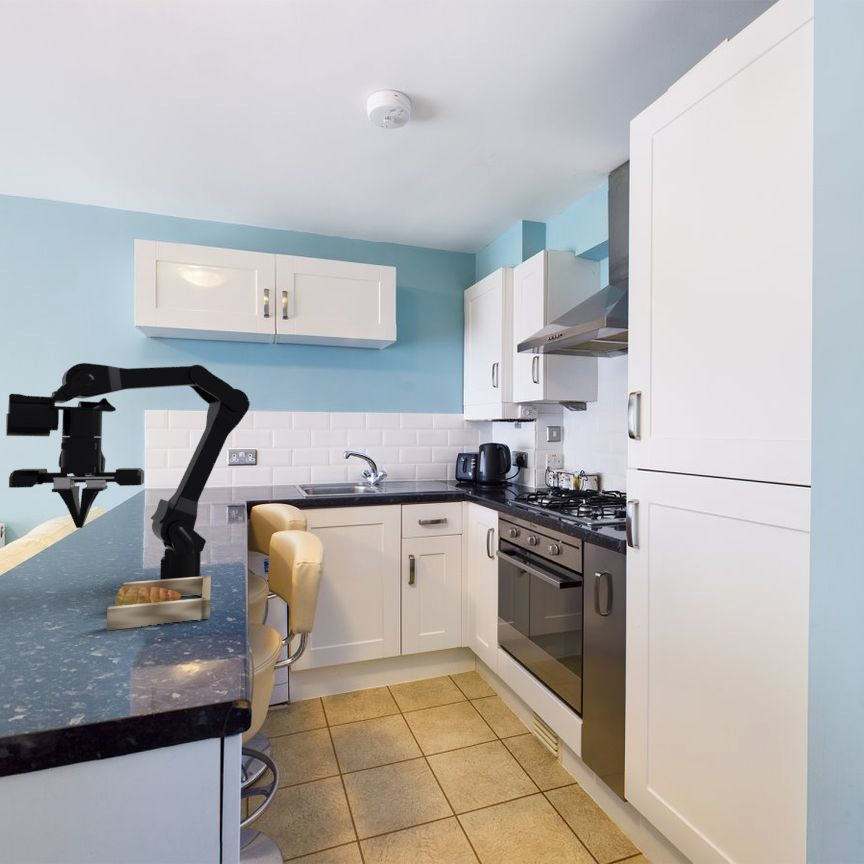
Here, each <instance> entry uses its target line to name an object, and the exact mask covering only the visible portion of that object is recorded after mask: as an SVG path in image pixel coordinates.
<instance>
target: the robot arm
mask: <svg viewBox="0 0 864 864" xmlns="http://www.w3.org/2000/svg"><path fill="white" fill-rule="evenodd" d="M61 384H62V385H61V386H60V387H59V388H58V389H57V390H54V391H52V392H51V396H38V395H37V396H36V395H25V394H21V393H10V394H9V395H8V407H7V408H8V409H7V413H6V417H5V420H6V423H5V425H6V426H5V431H6V432H5V433H6V434H5V436H6V437H50V435H51V432H53V431H58V429H59V425H60V424H59V422H60V421H59V419H60V416H59V414H60V411H62V426H61V427H62V428H61V429H62V431H61V442H60V443H61V444H60V450H61V451H60V454H59V457H58V467H59V469H60V472H48V469H47V468H20V469H15V470H13V471H12V472H11V473H10V474H9V477H8V488H12V489H13V488H15V489H17V488H33V487H34V486H35V485H43V484H52V485H53V487H52V489H51V493H58V495H59V496H60V498H61V499H62V501H63V502H64V504H65V505H66V508H67V510H68V512H69V515H70V516H71V519H72V521H73V523H74V526H75V528H76V529H82V528H84V526H85V523H86V521H87V518H88V515H89V513H90V511H91V508H92V506H93V503H94V502H95V500H96V498H97V497H98V495H99V493H100V492H103V491H105V490H107V489H108V485H107V484H108V483H116V484H117V485H118V486H120V487H123V486H124V487H127V486H128V487H129V486H132V487H133V486H142V485H143V484H144V483H145V471H144V470H143V468H140V467H121V468H120V467H118V468H116V469H115V471H105V470H106V469H105V468H106V457H105V456H104V453H103V451H102V449H103V448H102V446H103V445H102V444H103V443H102V442H103V441H102V439H103V438H102V436H103V432H102V431H103V413H112V412H115V411H116V410H117V409H116V407H115V406H113V405H112V404H111V403H110V402H109V400H108V399H107V398H105V397H103V398H101V399H100V400H99V401H86V400H85V401H84V400H83V399H89V398H93V397H98V396H102V395H108V394H111V393H116V392H120V391H124V390H125V391H126V390H139V389H155V388H170V387H173V388H174V387H184V386H185V387H186V386H188V387H190V388H191V390H193V391H194V392H195V393H196V394H197V395H198V396H199V397H200V398H201V399H202V400H203V401H204V402H205V403H207V404H208V409H207V412H206V422H205V423H206V424H205V429H204V431H203V433H202V436H201V437H200V440H199V442H198V444H197V446H196V448H195V450H194V453H193V455H192V457H191V458H190V461H189V463H188V466H187V467H186V470H185V471H184V474H183V475H182V478H181V480H180V482H179V485H178V486H177V488H176V491H175V493H174V494H173V495H172V496H171V497H170V498H169V499H168V500H166V499H162V498H160V499H159V502H158V505H157V508H156V510H155V512H154V514H153V515H152V516H151V517H150V519H151V520H153V521H152V524H151V530H152V532H153V535H154V536H155V537H156V538H157V539H159V540H160V541H162V543H163V546H164V547H165V549H164V551H163V552H164V553H163V554H164V555H163V556H162V557H161V559H160V574H159V575H160V577H159V580H163V579H176V578H189V577H202V573H201V565H202V563H201V562H202V561H201V558H202V552H203V550H204V548H205V545H206V544H207V543H206V542H207V540H206V539H205V538H204V537H203V536H202V535H200V534H199V533H198V532H196V530H194V529H195V526H196V522H197V518H198V507H199V500H200V497H201V496H202V494H203V491H204V490H205V488H206V487H205V486H206V484H207V483H208V480H209V478H210V476H211V473H212V472H213V469H214V467H215V465H216V462H217V460H218V458H219V457H220V456H219V455H220V453H221V451H222V449H223V446H224V444H225V443H226V440H227V438H228V436H229V435H230V434H231V432H232V431H233V430H234V429H235V428H236V427H237V426H238V425H239V424H240V422H241V421H242V420H243V418H244V417H245V415H246V414H247V412H248V410H249V408H250V405H251V403H250V400H249V397H248V395H247V394H246V393H245V391H243V390H241V389H239V388H234V387H233V386H231V385H230V384H229V383H228V382H226V381H224V380H223V379H221V378H219V377H218V376H217V375H215V374H213V373H212V372H211V371H210V370H208V368H206V367H205V366H203V365H202V364H192V365H185V366H182V365H181V366H164V367H163V366H160V367H159V366H158V367H156V366H155V367H135V368H134V367H133V368H128V367H127V368H126V367H118V366H111V365H106V364H97V363H90V362H89V363H87V362H86V363H85V362H81V363H78V364H77V363H76V364H75V365H73V366H72V367H70V368H68V369H67V370H66V371H65V372H64V374H63V376H62V378H61ZM73 399H81V400H78V402H77V406H67V405H66V406H62V405H61V406H60V405H56V404H64V403H67V402H69V401H71V400H73ZM82 400H83V401H82ZM71 474H72V475H71ZM77 483H82V484H83V483H85V485H86V487H83V488H82V489H81V495H80V488H81V487H80V485H77ZM80 497H81V498H80Z"/></svg>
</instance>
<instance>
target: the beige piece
mask: <svg viewBox="0 0 864 864" xmlns="http://www.w3.org/2000/svg"><path fill="white" fill-rule="evenodd" d="M211 577H212V576H211V575H205V576H204V575H203V576H202V575H201V577H189V578H176V579H163V580H160V579H154V580H153V579H152V580H141V581H140V580H139V581H137V580H136V581H127V582H126V581H125V582H124V581H123V583H122V587H127V588H133V587H134V586H141V587H142V586H146V585H149V586H151V587H160V588H164V589H167V590H173V591H176V592H178V593H180V594H181V595H193V594H202V595H201V598H199V597H198V598H192V599H191V598H190V599H180V600H177V601H166V602H155V603H144V604H133V605H123V606H108V607H107V609H106V611H107V612H106V631H113V630H120V629H121V630H122V629H130V628H141V626H142V627H149V626H148V625H152V626H158V625H157V624H161V625H165V624H164V623H170V624H173V623H172V622H178V621H188V620H198V621H201V620H200V619H208V620H210V619H211V617H210V616H211V582H212V581H211V579H212V578H211Z"/></svg>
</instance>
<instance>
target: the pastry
mask: <svg viewBox="0 0 864 864" xmlns="http://www.w3.org/2000/svg"><path fill="white" fill-rule="evenodd" d="M181 598H182V597H181V594H180V593H178V592H176V591H173V590H167V589H164V588H160V587H151V586H149V585H146V586H142V587H141V586H134V587H133V588H127V587H123V586H121V587H120V588H119V589H118V590H117V594H116V597H115V601H114V606H123V605H133V604H144V603H155V602H166V601H177V600H181Z"/></svg>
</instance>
